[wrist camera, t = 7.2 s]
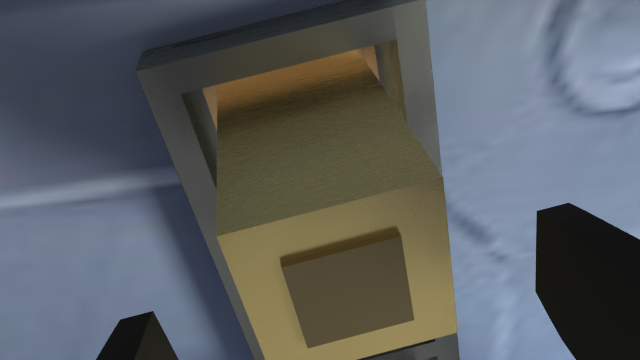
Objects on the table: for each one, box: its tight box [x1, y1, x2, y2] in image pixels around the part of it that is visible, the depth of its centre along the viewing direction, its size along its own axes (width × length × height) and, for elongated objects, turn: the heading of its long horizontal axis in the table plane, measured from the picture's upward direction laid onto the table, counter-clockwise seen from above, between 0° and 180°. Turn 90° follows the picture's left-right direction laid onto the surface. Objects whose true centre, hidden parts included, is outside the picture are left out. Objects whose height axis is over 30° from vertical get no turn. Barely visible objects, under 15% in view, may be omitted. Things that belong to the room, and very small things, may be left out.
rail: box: [135, 0, 460, 360], centre depth 19 cm, size 19×7×1 cm, turn 12°
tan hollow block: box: [216, 60, 458, 360], centre depth 13 cm, size 4×4×6 cm
